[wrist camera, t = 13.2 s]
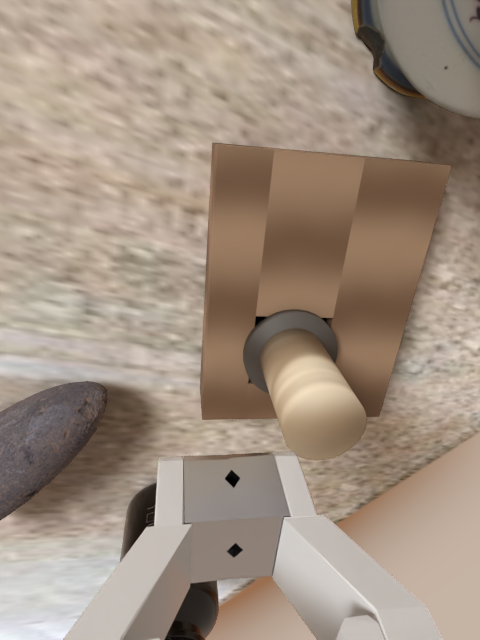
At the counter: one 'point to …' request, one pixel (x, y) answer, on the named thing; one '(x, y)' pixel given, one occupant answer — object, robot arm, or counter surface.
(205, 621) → the supplement bottle
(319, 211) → the walnut board
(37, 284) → the counter surface
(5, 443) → the perforated stone tool
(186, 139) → the counter surface
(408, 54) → the apothecary jar
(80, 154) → the counter surface
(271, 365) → the maple peg
